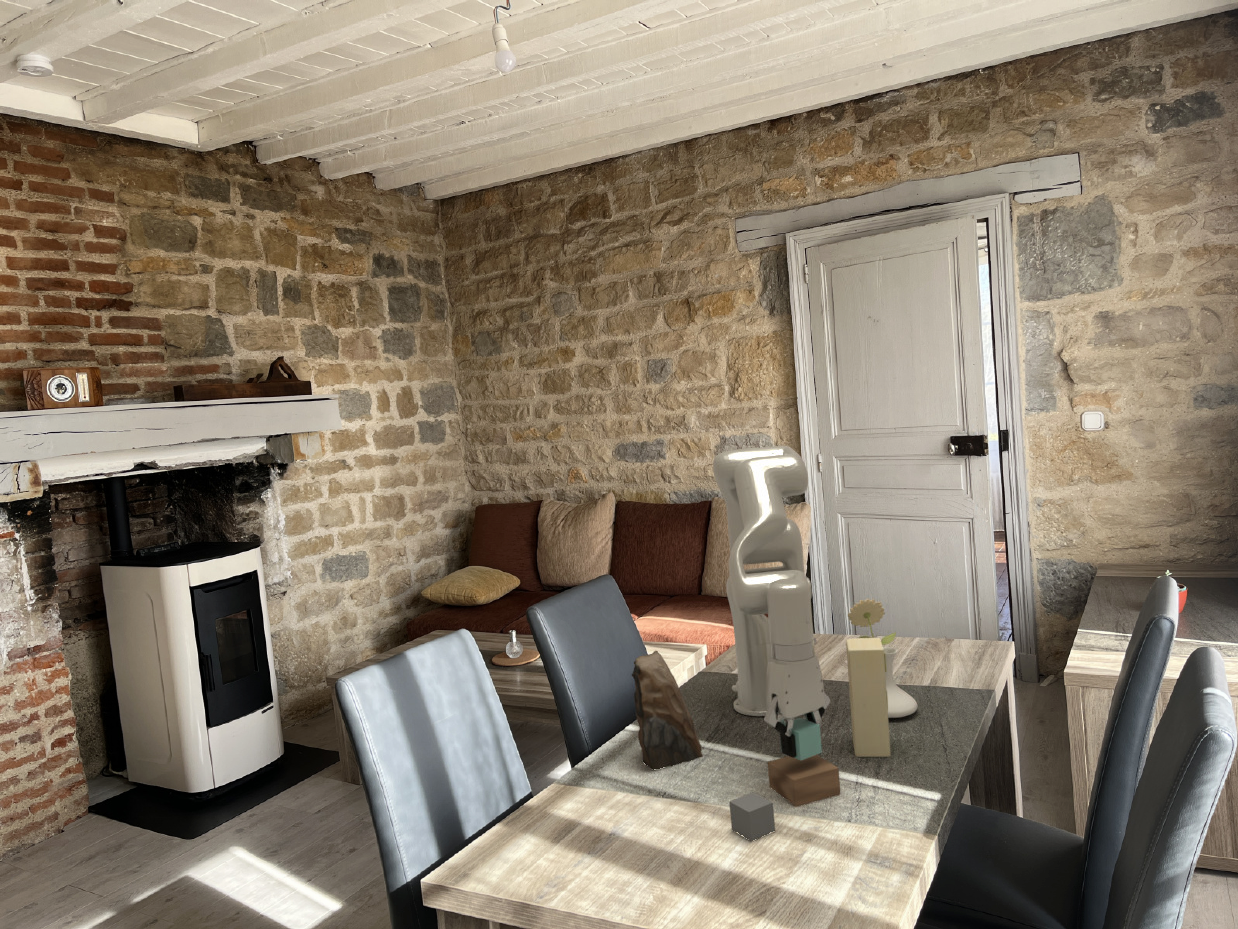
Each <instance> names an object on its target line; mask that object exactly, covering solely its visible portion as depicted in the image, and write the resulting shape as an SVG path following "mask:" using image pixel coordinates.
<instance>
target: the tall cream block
mask: <svg viewBox="0 0 1238 929" xmlns="http://www.w3.org/2000/svg"><path fill="white" fill-rule="evenodd" d="M881 640H882V639H881V638H880V637H874V638H873V637H872V638H859V637H857V638H856V637H854V638H853V637H852V638H846V639H845V644H846V646H845V648H846V658H847V659H846V660H847V675H848V676H847V678H848V690H849V705H850V715H851V716H850V717H851V733H852V742H853V743H852V744H853V751H854V756H855V757H857V758H859V757H866V758H868V757H870V758H873V757H875V758H876V757H879V758H882V757H883V758H884V757H891V740H890V727H889V725H890V724H889V718H888V697H887V690H886V678H885V672H887V670H886V654H885V652H884V649H883V647H884V645H882V643H881Z"/></svg>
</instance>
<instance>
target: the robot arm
mask: <svg viewBox="0 0 1238 929" xmlns="http://www.w3.org/2000/svg"><path fill="white" fill-rule="evenodd" d="M806 466H807V465H806V463H805V462H804V460H803V458H802V457H801V455H800V454H799V453H798V452H797V451H795V449H793V448H792V447H790V446H789V445H772V446H764V447H763V446H761V447H752V448H750V447H749V448H741V449H740V448H738V449H731V450H727V451H723V452H721V453H718V454H717V455H716V456H715V457H714V459H713V461H712V471H713V477H714V480H715V482H716V486H717V487H718V489H719V491H720V493H721V496H722V498H723V500H724V503H725V508H726V521H727V531H728V541H729V542H728V544H729V549H730V550H729V551H730V553H729V558H728V574H729V576H728V578H727V579H726V583H725V584H726V595H727V600H728V603H729V607H730V608H729V609H730V613H731V617H732V624H733V625H732V626H733V633H734V646H735V656H736V668H737V679H738V680H737V681H736V683H735V684H733V685H732V686H731V690H732V691H733V692H736V693H737V698H736V699H735V700H734V701H733V710H735V711H736V712H737V713H739V714H741V715H746V716H751V717H764V718H763V721H764V722H765V723H766V724H767V725H769V726H771V727H772V728H773V729H775V731H776V732H777V733H779V738H780V740H781V743H780V751H781V750H782V752H781V753H782V754H783V755H785V756H790V757H792V758H794V757H796V746H795V735H793V734H792V728H793V721H794V720H795V719H796V718H799V717H801V716H803V715H804V718H805V720H808V721H810V722H813V723H816V724H819V725H820V726H821V725H822V717H823V716H824V714H825V712H826V709H827V708H828V706H829V704H830V703H831V698H830V697H829V696H828V695H827V694H826V693H825V689H824V688H825V686H824V681H823V680H824V679H823V675H822V674H823V673H822V669H821V664H820V661H819V657H818V654H817V653H816V652H815V645H816V644H817V643H818V641H817V638H816V637H815V635H814V626H813V625H814V623H813V616H812V614H813V613H812V602H811V599H812V596H813V594H812V592H813V591H812V589H813V588H812V585H811V580H810V578H809V577H807V575H806V574H805V563H804V562H805V561H804V548H803V539H802V534H801V530H800V528H799V526H798V524H797V523H796V522H795V521H794V520H792V519H790V518H788V517H787V512H786V508H785V505H784V500H783V498H784V497H790V496H791V497H793V496H799V495H800V496H801V495H803V494H804V493H806V491H807V489H808V486H809V474H808V470H807V467H806ZM769 563H781V564H782V565H781V566H779V565H778V566H769V567H756V568H747V569H745V568H744V565H757V564H769ZM766 614H767V615H768V616H766ZM784 723H786V726H785V725H784ZM780 740H779V741H780Z"/></svg>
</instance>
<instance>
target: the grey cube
mask: <svg viewBox="0 0 1238 929" xmlns="http://www.w3.org/2000/svg"><path fill="white" fill-rule="evenodd" d="M728 803H729V812H730V814H729V815H730V824H731V831H732V830H733V831H732V832H734V831H735V832H738V833H739V834H740V835H739V834H738V835H739V836H741V835H743V836H744V837H745V838H744V837H743V838H744V839H746V838H747V839H749V840H750V841H749V840H748V841H749V842H751V841H753V840H755V839H757V838H759V839H761V837H762V836H764V835H766V836H768V835H767V834H769V833H770V832H773V831H775V832H776V824H775V812H774V802H773V801H771V800H769V799H767V798H765V797H764V796H762V795H760V794H757V793H755V792H754V791H752V792H750V793H747V794H744V795H743V796H740V797H737V798H735V799H732V800H730V801H729V802H728ZM735 832H734V833H735ZM773 833H774V832H773ZM769 835H770V834H769ZM764 837H765V836H764ZM762 838H763V837H762ZM747 839H746V840H747ZM757 840H758V839H757ZM755 841H756V840H755ZM753 842H754V841H753Z"/></svg>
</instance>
